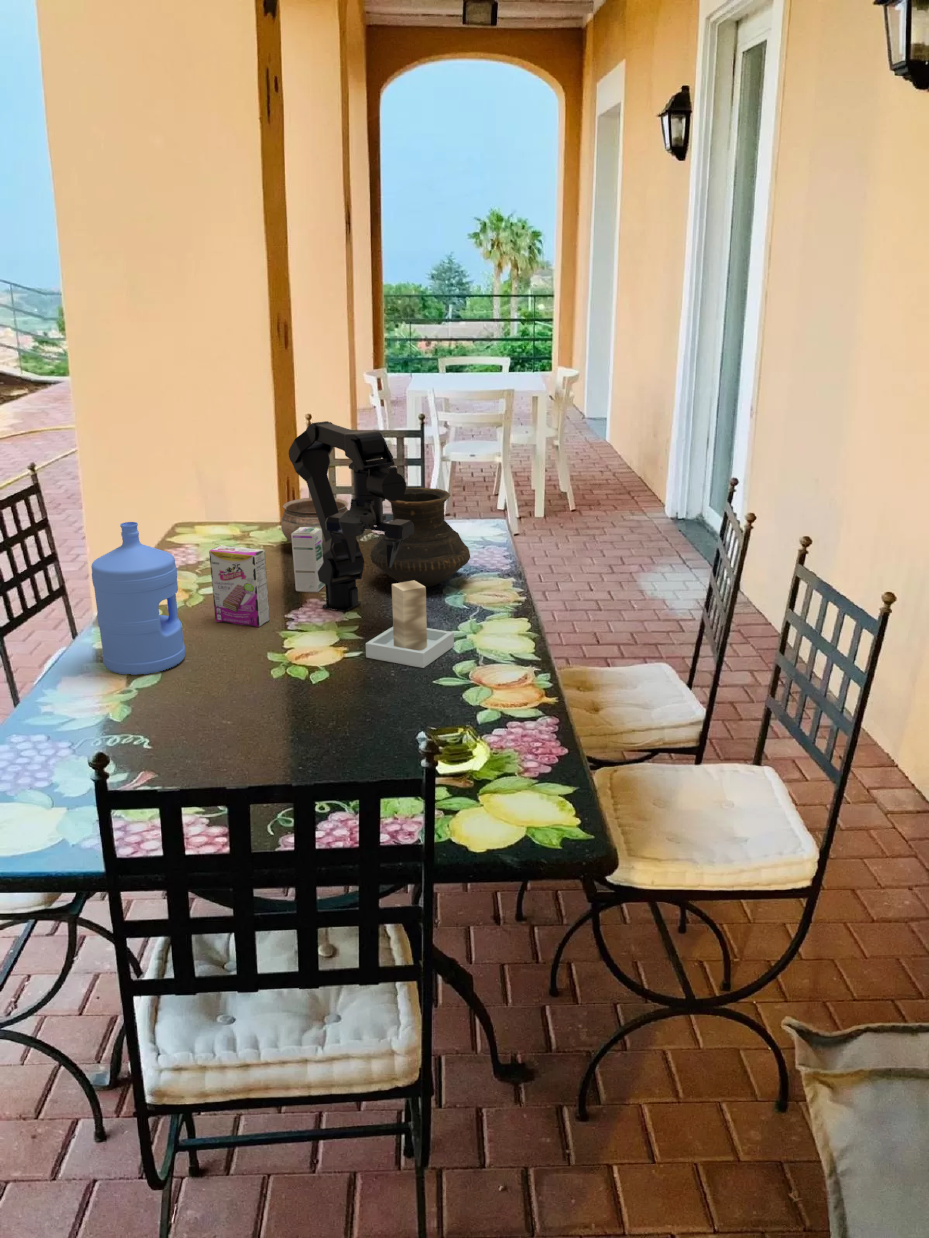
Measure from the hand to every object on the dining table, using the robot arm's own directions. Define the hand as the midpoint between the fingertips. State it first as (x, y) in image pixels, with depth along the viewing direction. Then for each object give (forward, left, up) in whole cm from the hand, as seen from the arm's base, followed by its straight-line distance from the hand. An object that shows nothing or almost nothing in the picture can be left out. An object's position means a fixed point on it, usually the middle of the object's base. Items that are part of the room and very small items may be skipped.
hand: (371, 564), depth 223 cm
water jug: (-29, -39, -13) cm, 50 cm away
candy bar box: (-26, -12, -13) cm, 32 cm away
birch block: (+16, -12, -12) cm, 23 cm away
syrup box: (-26, +14, -13) cm, 32 cm away
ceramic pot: (-4, +29, -13) cm, 32 cm away
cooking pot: (-44, +44, -13) cm, 64 cm away
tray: (+16, -12, -13) cm, 24 cm away
